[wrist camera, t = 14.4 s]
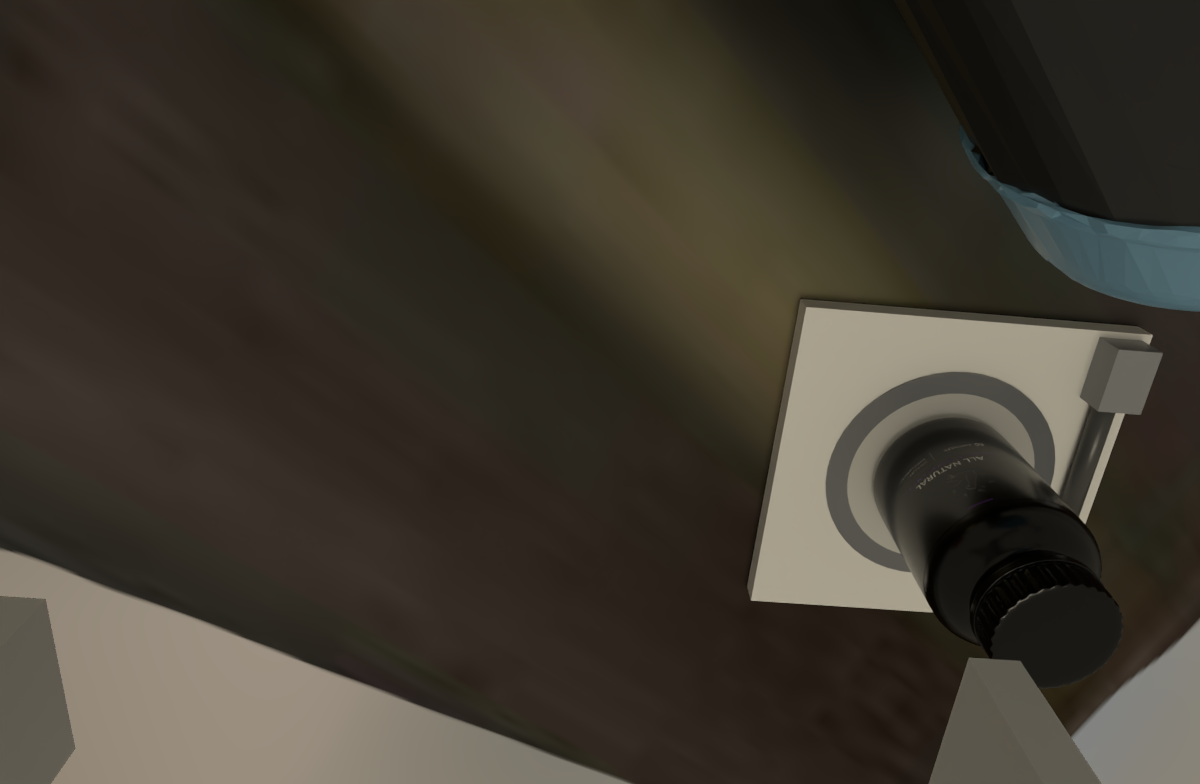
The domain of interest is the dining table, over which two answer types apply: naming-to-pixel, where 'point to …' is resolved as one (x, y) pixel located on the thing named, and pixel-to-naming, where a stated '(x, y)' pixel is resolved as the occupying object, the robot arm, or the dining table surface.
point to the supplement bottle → (997, 550)
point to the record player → (914, 396)
